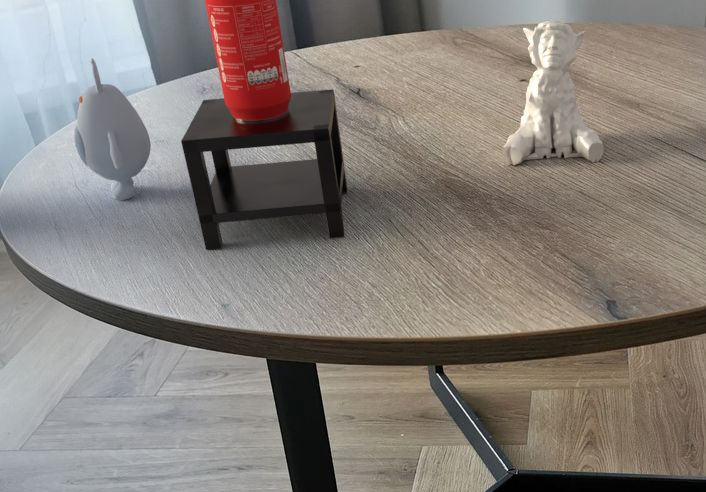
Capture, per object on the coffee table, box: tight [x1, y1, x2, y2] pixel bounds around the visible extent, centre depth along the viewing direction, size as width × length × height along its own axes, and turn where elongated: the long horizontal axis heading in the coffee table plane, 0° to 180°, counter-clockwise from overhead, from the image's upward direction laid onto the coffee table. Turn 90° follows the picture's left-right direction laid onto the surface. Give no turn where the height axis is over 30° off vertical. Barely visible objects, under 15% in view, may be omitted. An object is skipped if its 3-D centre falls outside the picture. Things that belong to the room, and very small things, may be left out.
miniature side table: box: [180, 89, 348, 251], centre depth 79 cm, size 11×11×9 cm
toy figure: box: [73, 58, 152, 201], centre depth 85 cm, size 11×6×12 cm, turn 22°
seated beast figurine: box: [500, 19, 605, 167], centre depth 90 cm, size 10×9×12 cm
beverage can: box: [204, 0, 292, 121], centre depth 74 cm, size 5×5×12 cm
